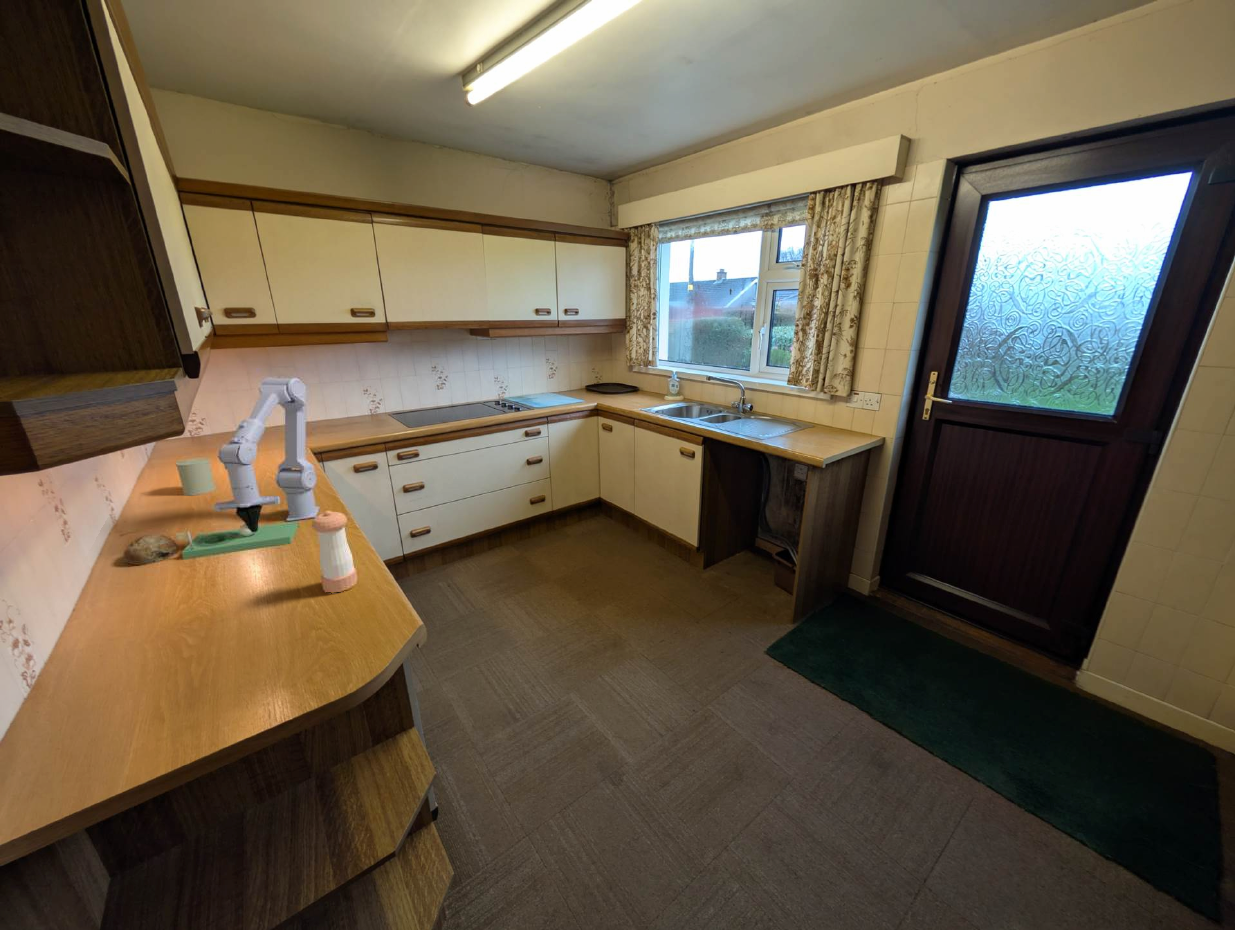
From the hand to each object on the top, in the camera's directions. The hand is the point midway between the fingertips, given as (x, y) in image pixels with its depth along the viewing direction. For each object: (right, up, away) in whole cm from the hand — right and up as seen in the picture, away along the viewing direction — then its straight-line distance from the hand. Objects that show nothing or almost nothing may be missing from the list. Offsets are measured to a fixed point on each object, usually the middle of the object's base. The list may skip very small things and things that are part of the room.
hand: (254, 530), depth 136 cm
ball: (-1, +2, 0) cm, 2 cm away
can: (-50, +9, +40) cm, 64 cm away
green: (-3, -3, 0) cm, 4 cm away
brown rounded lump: (-21, -6, -8) cm, 23 cm away
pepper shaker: (+37, -10, -21) cm, 44 cm away
